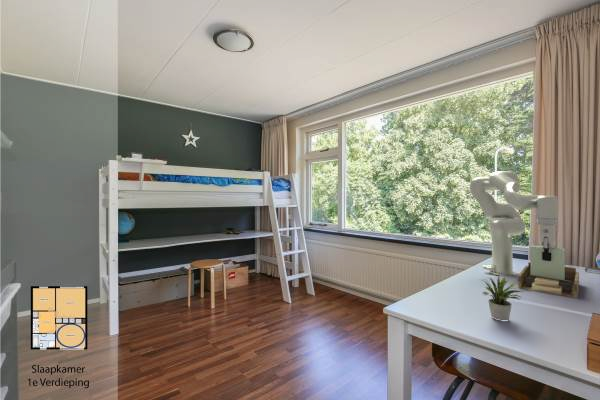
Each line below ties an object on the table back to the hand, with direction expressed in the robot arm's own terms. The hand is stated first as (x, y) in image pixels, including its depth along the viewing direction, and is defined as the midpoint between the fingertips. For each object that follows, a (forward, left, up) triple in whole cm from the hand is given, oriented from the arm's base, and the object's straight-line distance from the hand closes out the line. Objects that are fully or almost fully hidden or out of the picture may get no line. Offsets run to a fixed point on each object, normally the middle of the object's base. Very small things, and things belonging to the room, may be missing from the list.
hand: (547, 259), depth 132 cm
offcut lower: (-3, -6, -13) cm, 15 cm away
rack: (+1, +2, -14) cm, 14 cm away
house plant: (-33, -43, -15) cm, 56 cm away
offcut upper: (-3, -6, -11) cm, 13 cm away
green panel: (0, 0, -8) cm, 8 cm away
